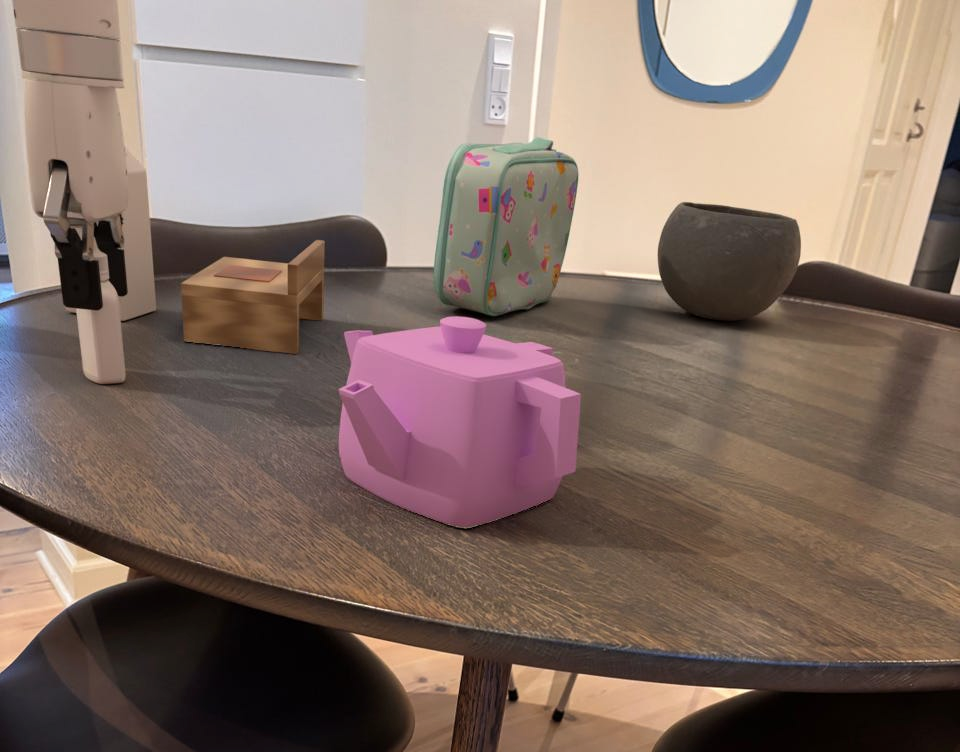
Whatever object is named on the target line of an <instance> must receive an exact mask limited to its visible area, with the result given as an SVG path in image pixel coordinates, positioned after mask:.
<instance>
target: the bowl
mask: <svg viewBox="0 0 960 752" xmlns="http://www.w3.org/2000/svg"><path fill="white" fill-rule="evenodd" d="M801 253H802V238H801V231H800V226H799V224H798V221H797V219H796V218H793V217H790V216H788V215H787V216H786V215H783V214H781V213H780V214H779V213H774V212H768V211H762V210H756V209H749V208H743V207H735V206H730V205H724V204H714V203H713V204H712V203H698V202H697V203H696V202H690V201H682V202H680V203H678V204H677V205H676V206H675V207H674V209H673V210H672V211H671V213H670V214H669V216H668V218H667V219H666V221H665V223H664V225H663V227H662V230H661V233H660V237H659V241H658V246H657V267H658V273H659V277H660V280H661V283H662V286H663V287H664V290H665V292H666V293H667V295H668V296H669V297H670V299H671V300H672V301H673V302H674V304H676V305H677V306H678V307H680V308H681V309H682V310H684V311H685V312H687V313H689V314H692V315H694V316H695V317H696V316H697V317H699V318H703V319H708V320H712V321H713V320H714V321H724V322H730V321H731V322H732V321H734V322H735V321H741V320H748V319H750V318H754V317H755V316H758V315H760V314H762V313H764V312H765V311H767V310H768V309H769V308H770V307H771V306H773V304H774V303H775V302H777V300H778V299H779V298H780V297H781V296H782V295H783V293H784V292H785V291H786V290H787V289H788V287H789V286H790V284H791V282H792V281H793V279H794V277H795V275H796V273H797V271H798V268H799V263H800V260H801Z"/></svg>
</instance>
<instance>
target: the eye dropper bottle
mask: <svg viewBox="0 0 960 752" xmlns="http://www.w3.org/2000/svg"><path fill="white" fill-rule="evenodd" d="M93 260H98V261H99V271H100V280H101V290H102V300H103V307H102V309H100V310H97V311H96V310H87V309H77V308H76V312H77V313H76V320H77V328H78V337H79V346H80V356H81V364H82V365H81V366H82V372H83V374H84V376H85V378H87V379H88V380H89V381H91V382H93V383H96V384H99V385H111V384H112V385H113V384H122V383H124V382H125V380H126V376H127V375H126V364H125V354H124V343H123V331H122V320H120V310H119V300H118V295H117V292H116V290H115V288H114V287H113V285H112V284H111V283H110V282H109V281H108V280H107V279H109V270H108V260H107V255H106V254H105V253H103V252H101V251H100V250H99V249H98V247H97V244H96V240H95V237H94V253H93Z"/></svg>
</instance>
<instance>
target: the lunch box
mask: <svg viewBox="0 0 960 752" xmlns="http://www.w3.org/2000/svg"><path fill="white" fill-rule="evenodd" d="M553 146H554V140H550V139H545V138H541V137H539V136H535V137H534V138H533V139H532V140H531V141H530V142H527V143H523V142H509V143H473V142H467V143H461V144H460V145H458V146H457V148H456V149H455V151H454V152H453V154H452V156H451V157H450V160H449V162H448V165H447V167H446V171H445V175H444V176H445V177H444V180H443V187H442V198H441V205H440V213H439V214H440V215H439V223H438V231H437V237H436V245H435V254H434V261H433V262H434V263H433V285H434V291H435V294H436V297H437V298H438V300H439V301H440V302H441V303H442V304H444V305H446V306H453V307H457V308H460V309H463V310H467V311H472V312H475V313H476V312H477V313H481V314H484V315H486V316H490V317H497V316H500V315H501V316H502V315H504V314H507V313H510V312H515V311H519V310H525V311H527V310H530V309H532V308H533V307H535V306H537V305H538V304H541V303H546V302H547V301H548V300H549V299H551V297H552V294H553V292H554V291H555V290H556V287H557V286H558V282H559V278H560V275H561V271H562V268H563V263H564V260H565V256H566V252H567V248H568V247H567V246H568V244H569V243H568V242H569V238H570V233H571V227H572V222H573V217H574V211H575V205H576V200H577V192H578V186H579V168H578V164H577V162H576V160H575V159H574V158H573V157H572V156H571V155H568V154H567V153H564V152H561V151H557V149H556V148H553Z"/></svg>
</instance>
